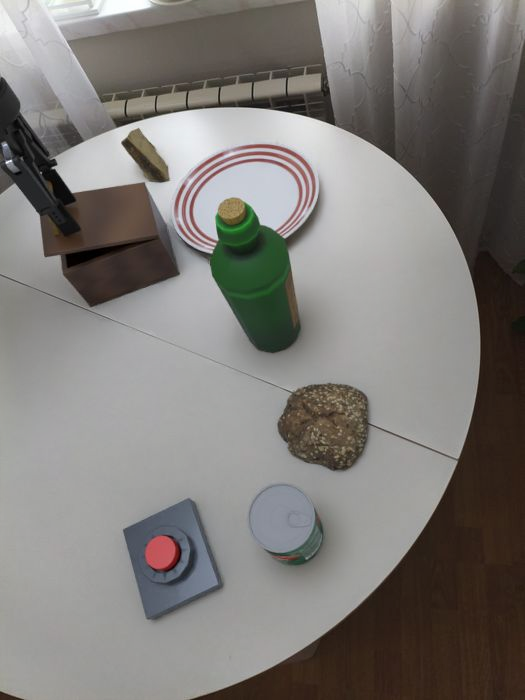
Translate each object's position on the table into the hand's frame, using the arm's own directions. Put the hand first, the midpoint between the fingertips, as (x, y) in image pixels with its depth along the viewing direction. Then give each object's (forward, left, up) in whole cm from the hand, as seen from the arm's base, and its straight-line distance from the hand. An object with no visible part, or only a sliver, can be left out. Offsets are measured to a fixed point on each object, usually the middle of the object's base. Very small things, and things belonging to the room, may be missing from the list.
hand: (70, 216), depth 88 cm
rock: (-22, +16, -15) cm, 31 cm away
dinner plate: (-1, +28, -15) cm, 32 cm away
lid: (0, +4, -2) cm, 4 cm away
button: (+52, -4, -11) cm, 54 cm away
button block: (+52, -4, -15) cm, 55 cm away
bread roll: (+44, +22, -15) cm, 52 cm away
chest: (0, +4, -15) cm, 15 cm away
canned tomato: (+56, +12, -15) cm, 60 cm away
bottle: (+26, +22, -15) cm, 37 cm away
